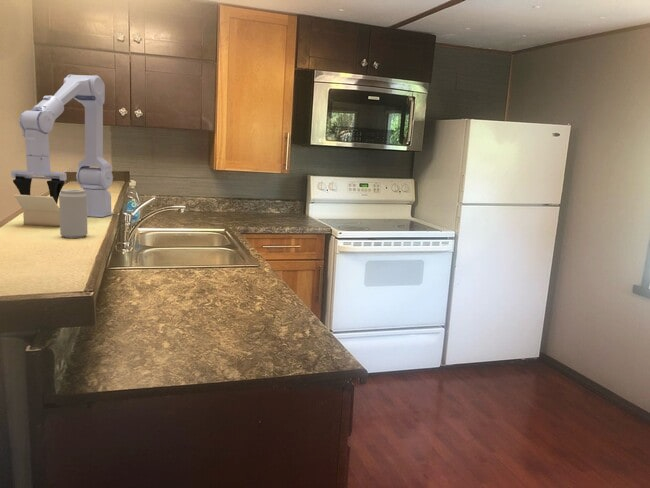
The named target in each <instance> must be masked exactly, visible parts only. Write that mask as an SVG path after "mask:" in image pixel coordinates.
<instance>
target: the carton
mask: <svg viewBox="0 0 650 488" xmlns="http://www.w3.org/2000/svg"><path fill="white" fill-rule="evenodd" d="M22 212H23V214H22V215H23V225H27V226H41V227H42V226H44V227H57V228H60V212H53V211H37V210H23V209H22Z"/></svg>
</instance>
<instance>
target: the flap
mask: <svg viewBox="0 0 650 488" xmlns="http://www.w3.org/2000/svg"><path fill="white" fill-rule="evenodd" d="M13 197H14V198H15V200H16V201H17V203H18V204H19V205H20V207H21V208H22V211H23V210H37V211H53V212H60V209H59V206H58V202H57V203H56V202H55V200H54V198H53V197H50V195H47V196H45V195H31V194H30V195H21V194H15V193H14V194H13Z"/></svg>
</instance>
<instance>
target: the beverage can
mask: <svg viewBox="0 0 650 488" xmlns="http://www.w3.org/2000/svg"><path fill="white" fill-rule="evenodd" d="M58 204H59V206H58V207H59V209H60V227H59V231H60V233H59V234H60V235H61V236H62V237H63V238H64V239H80V238H84V237H85V236H86V235H88V233H89V232H88V216H87V195H86V194H85V191H84V190H83V189H61V192H60V194H59V198H58Z"/></svg>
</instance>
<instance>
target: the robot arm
mask: <svg viewBox="0 0 650 488" xmlns="http://www.w3.org/2000/svg"><path fill="white" fill-rule="evenodd" d="M105 89H106V85H105V83H104V81H103V79H102V78H101V76H99V75H97V74H93V75H85V74H83V75H82V74H73V73H72V74H68V75H66V77H64V78H63V85H61V87H60V88H59V89H58V90H57V91H56V92H55V93H54V95H44V96H43V97H42V100H40V101H39V102H38V103H37V104H35V105H34V106H33V107H32V109H31V110H24V111H23V112H22V113H20V117H19V120H18V124H19V127H20V129H21V132H22V137H23V138H24V141H25V142H24V143H25V144H24V146H25V159H26V161H25V162H26V170H20V169H19V170H17V169H14V170H10V174H11V178H14V179H13V180H12V182H13V184H14V185H15V187H16V189H17V190H18V192H19V195H31V188H32V186H31V185H32V182H33V181H32V180H33V179H36V180H37V179H39V180H47V181H46V183H47V186H48V191H49V197H53V198H54V200H55V202H56V203H57V204H58V203H59V195H60V193H61V190H63V187H64V186H65V183H66V181H67V180H68V179H67V173H66V172H58V171H51V160H50V158H51V157H50V139H49V138H50V137H49V133H50V132H51V131H52V130H53V128H54V123H55V122H56V119H57V118H59V116H61V115H62V114H63V112H64V111H65V105H66V104H67V103H68V102H70V101H72V100H73V99H74V100H75V101H77V102H78V103H79V104H82V106H83V107H84V158H82V159H81V160H79V162H78V164H77V171H76V175H75V177H76V178H75V179H76V181H77V183H78V185H79V186H80V188H81V189H82V190H84V191H85V194H86V195H87V217H94V218H103V217H108V216H111V215H114V214H115V212H113V211H112V194H111V192H110V190H109V189H110V186H111V185H112V183H113V179H114V175H113V172H112V164H111V163H109V162H108V161H107V160H106V159H105V158H104V155H103V154H104V151H103V149H104V145H103V144H104V139H103V137H104V133H103V131H104V129H103V127H104V125H103V124H104V119H103V118H104V109H103V108H104V106H103V105H104V104H105V101H106V100H105V99H106V98H105V97H106V95H105V94H106V93H105V92H106V90H105Z"/></svg>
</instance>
